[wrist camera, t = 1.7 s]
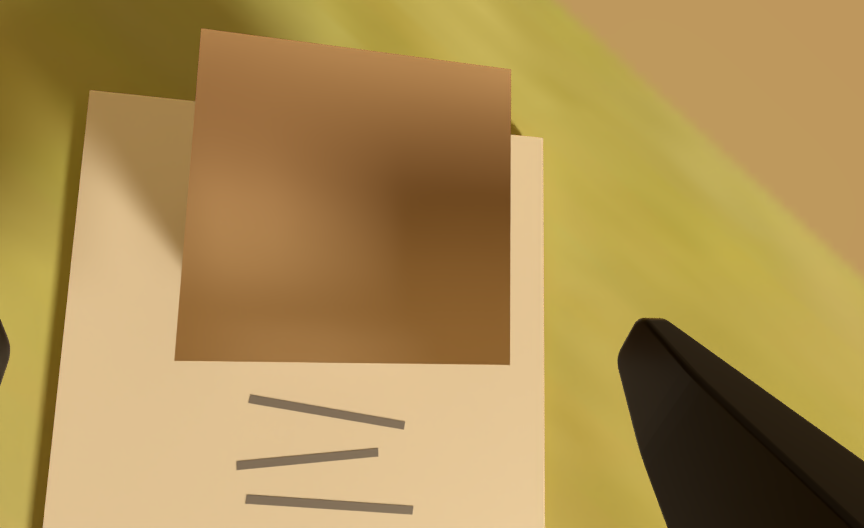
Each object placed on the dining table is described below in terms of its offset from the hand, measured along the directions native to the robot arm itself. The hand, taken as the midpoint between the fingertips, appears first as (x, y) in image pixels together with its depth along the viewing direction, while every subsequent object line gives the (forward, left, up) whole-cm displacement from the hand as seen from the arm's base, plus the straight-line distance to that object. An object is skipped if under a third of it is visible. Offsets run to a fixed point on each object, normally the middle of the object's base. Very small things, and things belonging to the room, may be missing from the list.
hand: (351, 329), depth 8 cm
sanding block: (+2, +1, -9) cm, 9 cm away
